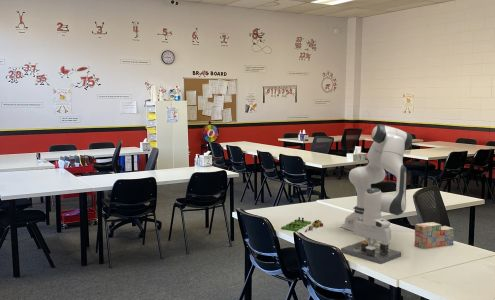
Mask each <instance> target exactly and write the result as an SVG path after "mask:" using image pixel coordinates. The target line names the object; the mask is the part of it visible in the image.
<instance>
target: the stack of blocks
mask: <svg viewBox="0 0 495 300" xmlns="http://www.w3.org/2000/svg"><path fill="white" fill-rule="evenodd" d="M454 231H455V229H454V228H453V227H450V226H447V225H443V226H442V224H440V223H437V222H434V221H433V222H432V221H431V222H424V223H423V222H422V223H416V224H415V225H414V247H417V248H419V249H421V250H426V249H433V248H440V247H447V246H453V245H454V235H455V232H454Z"/></svg>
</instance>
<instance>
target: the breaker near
mask: <svg viewBox="0 0 495 300" xmlns="http://www.w3.org/2000/svg"><path fill="white" fill-rule="evenodd" d="M375 249H376V247H373V246H368V247H366V254H369V255H374V254H375Z"/></svg>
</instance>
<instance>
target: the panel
mask: <svg viewBox="0 0 495 300" xmlns="http://www.w3.org/2000/svg"><path fill="white" fill-rule="evenodd" d="M375 247H376V249H375V254H374V255H369V254H366V249H363V248H361V241H359V242H356V243H354V244H353V243H352V244H351V245H347V246H344V247H341V248H340V252H341V251H342V252H343V254H347V255H350V256H353V257H357V258H359V259H363V260H366V261H370V262H372V263H374V262H375V263H377V264H380V265H381V264H382V265H383V264H385V263H387V262H389V261H391V260H394V259H397V258H401V256H402V251H398V250H395V249H390V248H388V250H382V249H380V245H376V244H375ZM342 252H341V253H342Z"/></svg>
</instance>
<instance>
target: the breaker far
mask: <svg viewBox="0 0 495 300" xmlns="http://www.w3.org/2000/svg"><path fill="white" fill-rule="evenodd" d="M378 242H379V247H380V249H382V250H388V249H389V245H390V242H387V243H385V242H382V241H378Z"/></svg>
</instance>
